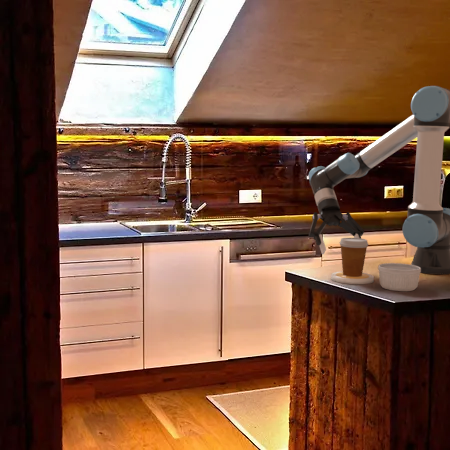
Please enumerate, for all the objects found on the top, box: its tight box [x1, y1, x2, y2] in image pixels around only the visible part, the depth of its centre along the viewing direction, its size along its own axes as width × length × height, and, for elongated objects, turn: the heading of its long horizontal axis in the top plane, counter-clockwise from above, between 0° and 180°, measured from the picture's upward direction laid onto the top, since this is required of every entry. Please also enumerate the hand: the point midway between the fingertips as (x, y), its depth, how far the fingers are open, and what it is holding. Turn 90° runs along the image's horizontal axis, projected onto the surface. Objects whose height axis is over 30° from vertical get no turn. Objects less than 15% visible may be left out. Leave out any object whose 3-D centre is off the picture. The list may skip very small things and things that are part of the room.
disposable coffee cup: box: [338, 237, 369, 277], centre depth 233 cm, size 10×10×12 cm
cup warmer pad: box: [330, 271, 375, 285], centre depth 234 cm, size 14×14×2 cm
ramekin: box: [377, 262, 421, 292], centre depth 223 cm, size 13×13×7 cm
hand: (342, 251), depth 241 cm, fingers open, 13 cm apart
